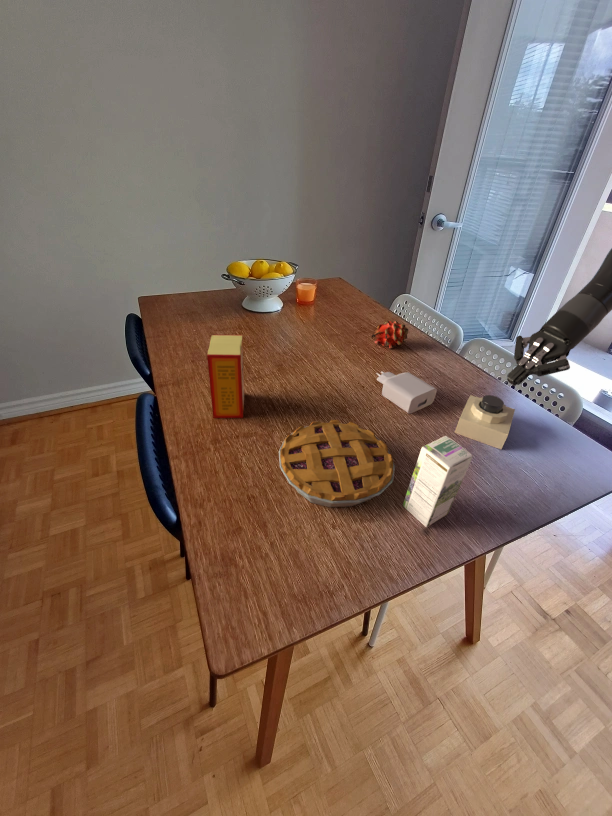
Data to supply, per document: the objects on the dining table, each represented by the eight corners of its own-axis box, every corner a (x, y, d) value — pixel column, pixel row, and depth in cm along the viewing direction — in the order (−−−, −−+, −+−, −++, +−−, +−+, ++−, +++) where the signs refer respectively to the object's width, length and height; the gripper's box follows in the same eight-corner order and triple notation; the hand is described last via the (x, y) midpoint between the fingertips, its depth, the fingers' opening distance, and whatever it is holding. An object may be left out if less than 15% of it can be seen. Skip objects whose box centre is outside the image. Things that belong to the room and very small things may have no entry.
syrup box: (423, 493, 73) (444, 432, 65) (449, 515, 69) (474, 454, 61) (401, 506, 70) (420, 444, 62) (427, 529, 67) (450, 467, 58)
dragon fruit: (407, 350, 124) (371, 357, 122) (399, 326, 126) (363, 332, 124) (417, 337, 116) (378, 345, 114) (408, 312, 118) (369, 319, 116)
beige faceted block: (508, 423, 93) (518, 402, 89) (501, 449, 85) (511, 428, 81) (465, 409, 96) (472, 388, 93) (454, 432, 89) (462, 411, 85)
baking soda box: (217, 394, 95) (211, 332, 86) (244, 394, 96) (242, 333, 87) (213, 418, 88) (206, 353, 78) (243, 417, 88) (240, 354, 79)
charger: (389, 375, 107) (433, 403, 98) (364, 385, 103) (407, 415, 93) (393, 360, 104) (438, 387, 95) (367, 369, 100) (411, 398, 90)
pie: (267, 441, 82) (267, 422, 80) (364, 428, 88) (368, 409, 85) (294, 526, 66) (295, 506, 63) (412, 503, 71) (418, 483, 68)
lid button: (502, 407, 88) (505, 399, 87) (499, 416, 85) (502, 409, 84) (481, 400, 90) (484, 392, 89) (478, 409, 87) (480, 402, 85)
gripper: (606, 345, 80) (540, 407, 83) (549, 319, 90) (491, 375, 92) (602, 324, 75) (532, 390, 78) (542, 299, 85) (482, 359, 87)
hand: (510, 382), depth 85 cm, fingers closed
